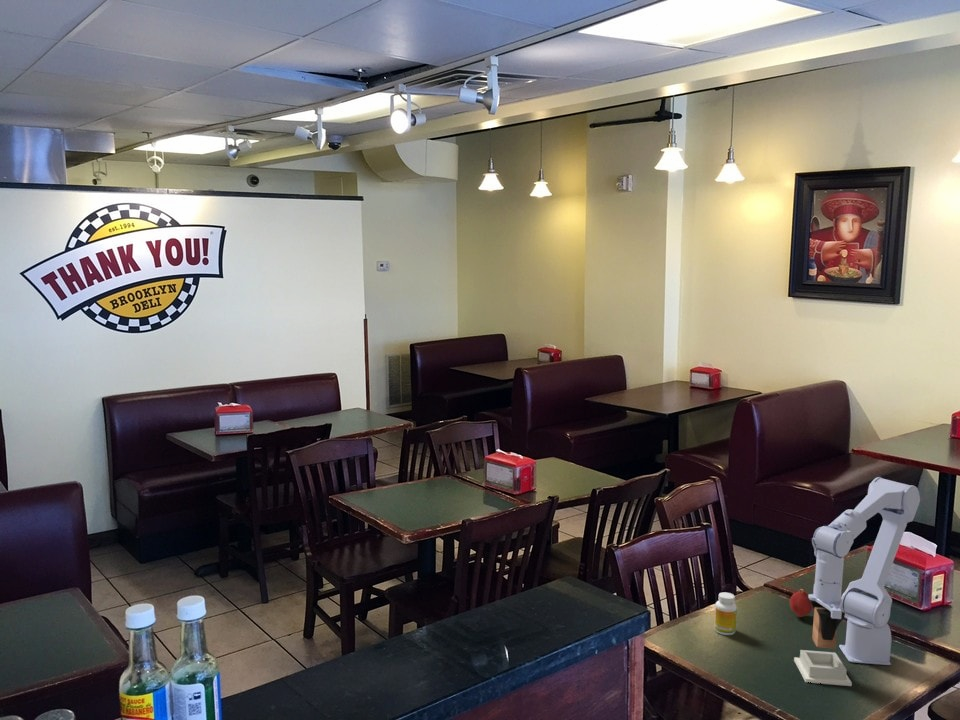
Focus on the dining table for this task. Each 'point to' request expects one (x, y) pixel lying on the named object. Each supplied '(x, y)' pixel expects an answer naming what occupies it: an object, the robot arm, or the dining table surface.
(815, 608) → the peg
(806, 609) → the onion
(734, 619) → the supplement bottle
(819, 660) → the socket
